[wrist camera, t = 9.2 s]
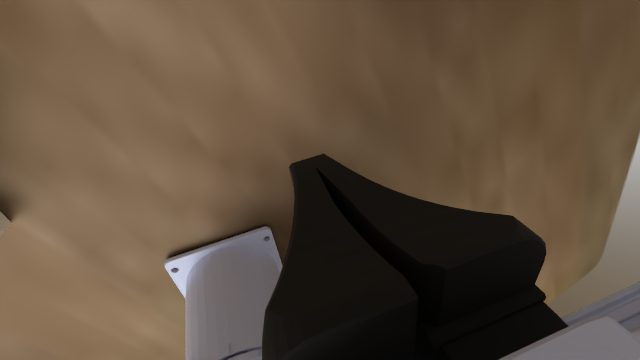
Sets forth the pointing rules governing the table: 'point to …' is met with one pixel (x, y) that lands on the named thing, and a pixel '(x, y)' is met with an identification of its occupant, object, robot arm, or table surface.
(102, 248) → the table surface
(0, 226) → the bay
